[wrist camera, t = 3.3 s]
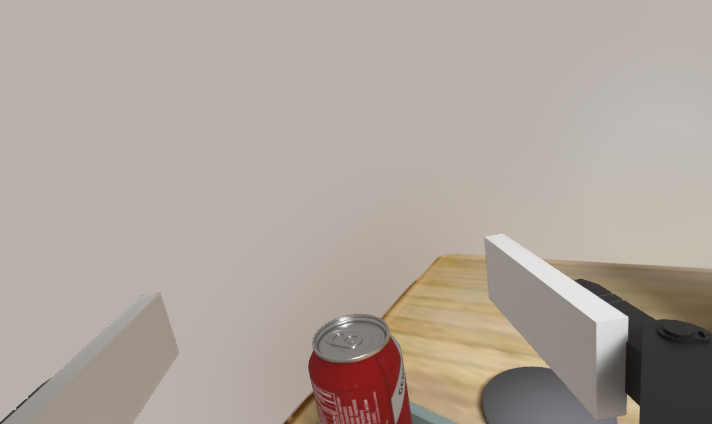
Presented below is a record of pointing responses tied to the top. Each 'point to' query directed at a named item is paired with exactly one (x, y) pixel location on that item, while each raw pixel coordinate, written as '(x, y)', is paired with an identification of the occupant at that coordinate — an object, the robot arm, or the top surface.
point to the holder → (425, 416)
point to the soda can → (358, 373)
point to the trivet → (534, 399)
